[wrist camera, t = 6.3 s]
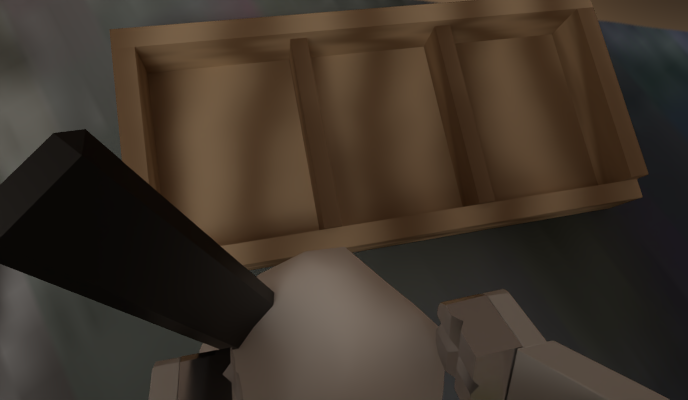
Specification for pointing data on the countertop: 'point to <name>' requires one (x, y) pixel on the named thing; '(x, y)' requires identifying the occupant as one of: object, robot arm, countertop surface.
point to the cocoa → (214, 283)
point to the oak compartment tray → (376, 123)
